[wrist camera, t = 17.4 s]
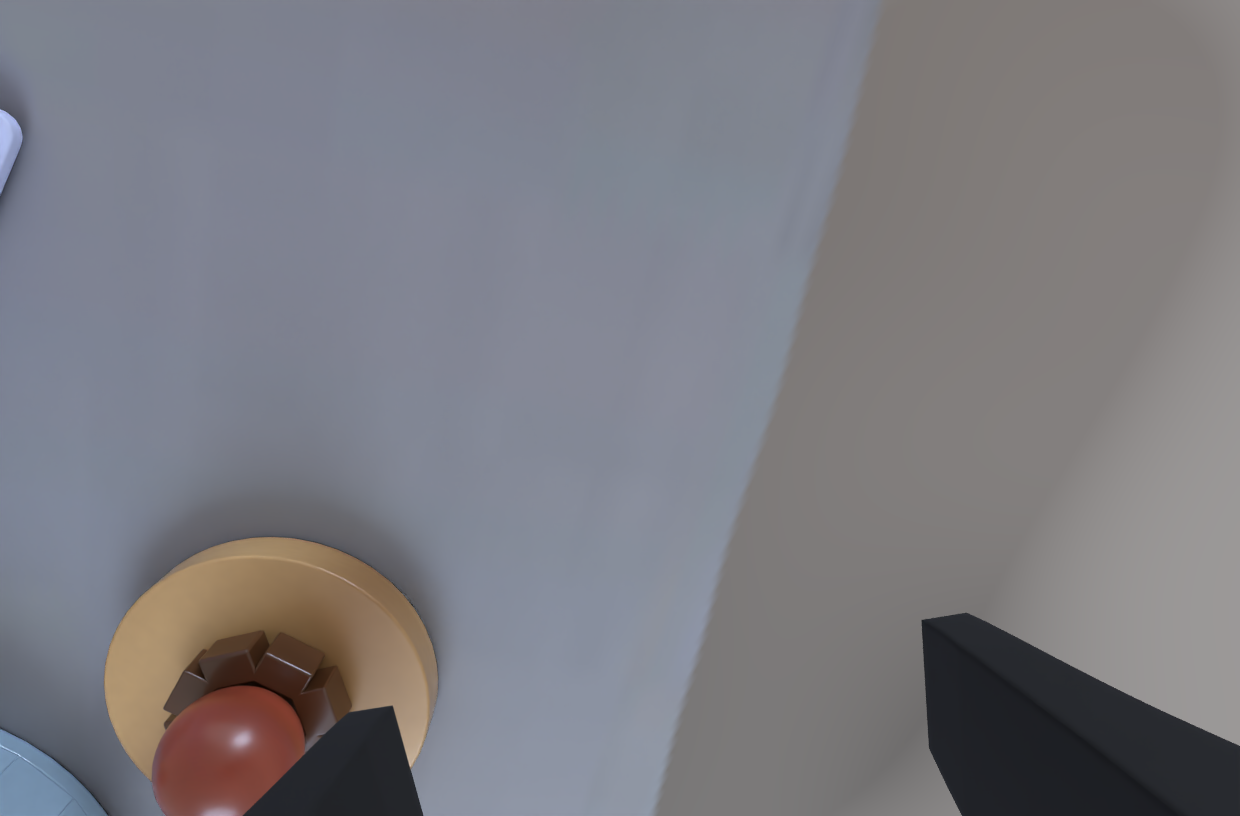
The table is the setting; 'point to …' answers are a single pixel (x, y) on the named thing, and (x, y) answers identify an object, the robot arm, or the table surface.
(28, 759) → the light blue bowl
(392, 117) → the table surface
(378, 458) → the table surface
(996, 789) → the robot arm
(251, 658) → the holder
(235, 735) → the ball
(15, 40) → the table surface
